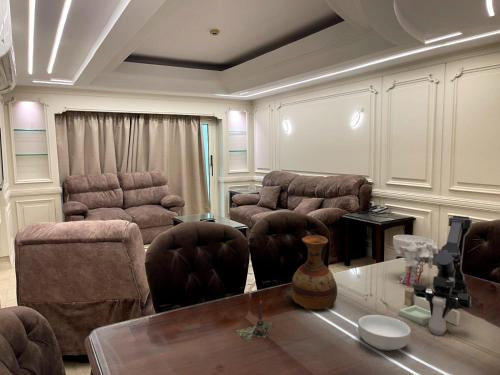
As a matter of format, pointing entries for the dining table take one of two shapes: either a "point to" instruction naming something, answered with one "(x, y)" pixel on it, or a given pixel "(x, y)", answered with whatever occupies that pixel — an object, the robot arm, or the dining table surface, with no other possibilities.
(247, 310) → the dining table surface
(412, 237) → the white irregular sculpture
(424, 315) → the tray
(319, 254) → the brown ceramic vase
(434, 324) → the salt shaker
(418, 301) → the gate
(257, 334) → the eiffel tower figurine
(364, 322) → the cereal bowl
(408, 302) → the gate post
